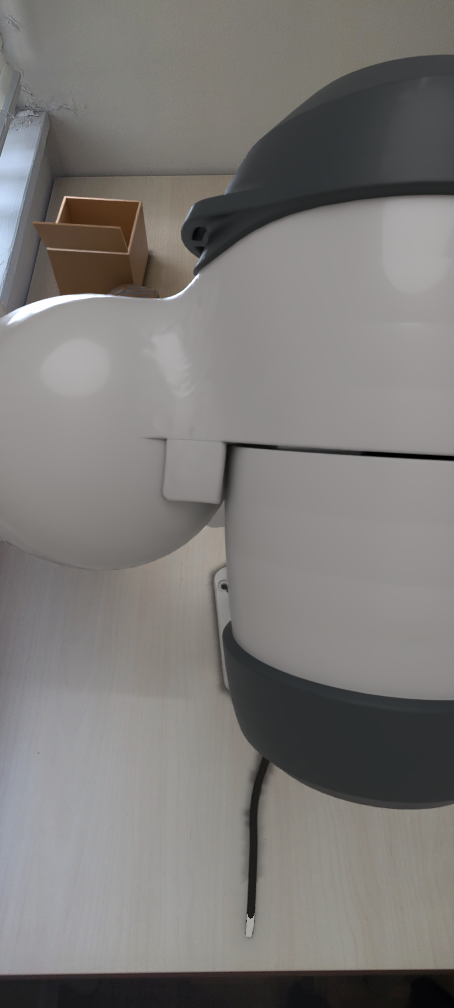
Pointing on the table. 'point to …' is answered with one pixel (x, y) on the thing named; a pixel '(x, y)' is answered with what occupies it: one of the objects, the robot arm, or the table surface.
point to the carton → (101, 267)
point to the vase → (134, 291)
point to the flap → (81, 236)
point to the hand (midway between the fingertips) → (40, 488)
